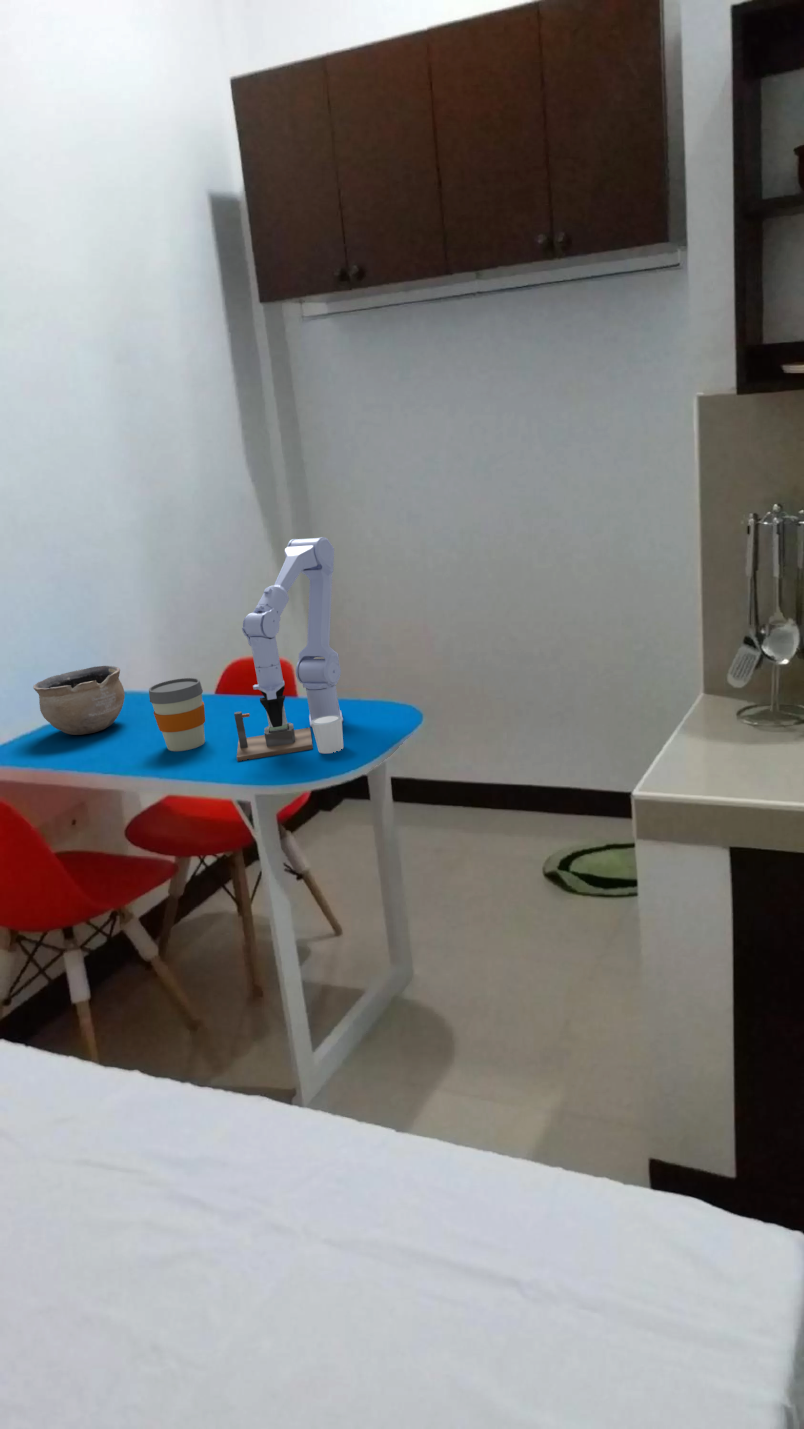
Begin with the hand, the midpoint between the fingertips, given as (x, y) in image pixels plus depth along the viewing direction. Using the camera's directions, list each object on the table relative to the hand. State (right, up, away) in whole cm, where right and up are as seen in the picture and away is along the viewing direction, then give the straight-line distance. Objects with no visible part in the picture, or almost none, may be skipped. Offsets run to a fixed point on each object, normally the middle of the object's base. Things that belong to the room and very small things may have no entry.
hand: (277, 721), depth 249 cm
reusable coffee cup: (-23, -6, +12) cm, 27 cm away
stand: (-1, -6, +1) cm, 6 cm away
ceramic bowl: (-54, -3, +38) cm, 66 cm away
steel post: (+1, -4, +1) cm, 4 cm away
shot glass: (+13, -6, -7) cm, 16 cm away
